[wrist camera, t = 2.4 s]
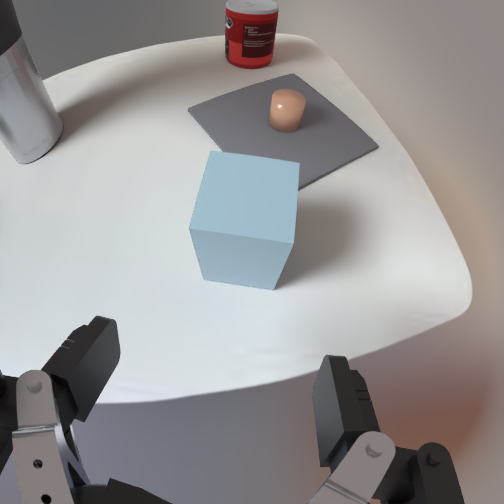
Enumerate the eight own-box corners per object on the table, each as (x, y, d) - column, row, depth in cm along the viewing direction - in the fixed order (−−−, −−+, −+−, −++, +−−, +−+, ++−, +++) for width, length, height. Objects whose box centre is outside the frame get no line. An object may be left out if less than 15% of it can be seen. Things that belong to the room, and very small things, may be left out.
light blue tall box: (273, 290, 27) (293, 243, 18) (203, 279, 27) (188, 228, 18) (280, 228, 30) (299, 163, 21) (216, 218, 30) (210, 150, 21)
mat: (188, 111, 36) (187, 108, 36) (292, 75, 41) (293, 73, 40) (268, 205, 31) (268, 203, 30) (377, 148, 35) (378, 145, 35)
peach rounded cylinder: (262, 117, 35) (265, 93, 32) (287, 109, 36) (291, 85, 33) (281, 136, 34) (286, 112, 30) (306, 127, 35) (312, 103, 32)
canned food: (239, 45, 44) (242, -6, 34) (279, 57, 43) (287, 3, 33) (215, 62, 42) (215, 5, 32) (258, 74, 40) (264, 14, 30)
